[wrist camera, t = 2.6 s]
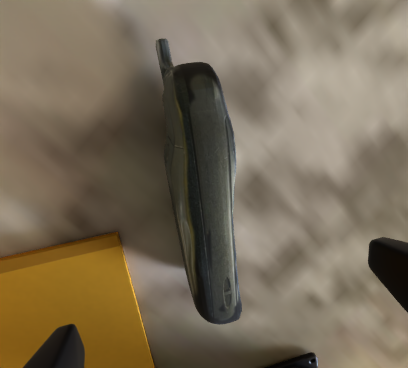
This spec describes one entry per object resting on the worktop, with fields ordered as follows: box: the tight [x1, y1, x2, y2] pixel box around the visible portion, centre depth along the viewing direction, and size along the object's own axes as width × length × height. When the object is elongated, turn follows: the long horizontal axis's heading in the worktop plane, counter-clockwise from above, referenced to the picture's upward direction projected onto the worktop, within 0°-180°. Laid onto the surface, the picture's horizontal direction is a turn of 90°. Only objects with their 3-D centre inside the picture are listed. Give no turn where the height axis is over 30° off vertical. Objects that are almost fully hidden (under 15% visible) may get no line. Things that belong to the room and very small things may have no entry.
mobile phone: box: [156, 39, 242, 324], centre depth 15 cm, size 5×3×15 cm
